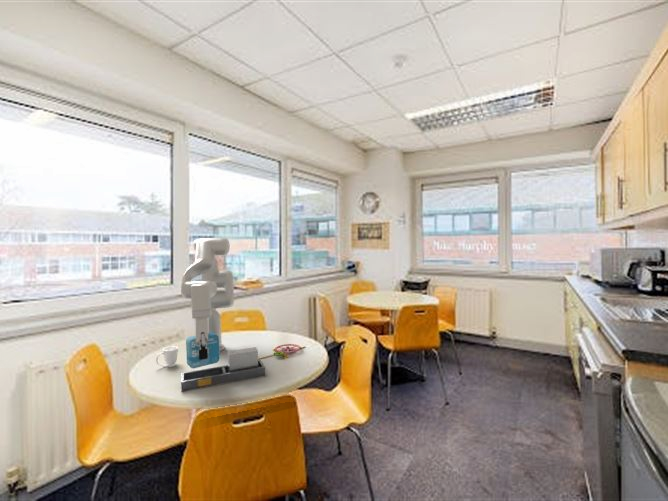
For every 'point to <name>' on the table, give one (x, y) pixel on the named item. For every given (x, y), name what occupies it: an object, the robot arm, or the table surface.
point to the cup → (169, 356)
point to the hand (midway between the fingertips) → (203, 356)
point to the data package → (193, 349)
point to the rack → (226, 371)
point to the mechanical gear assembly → (284, 350)
